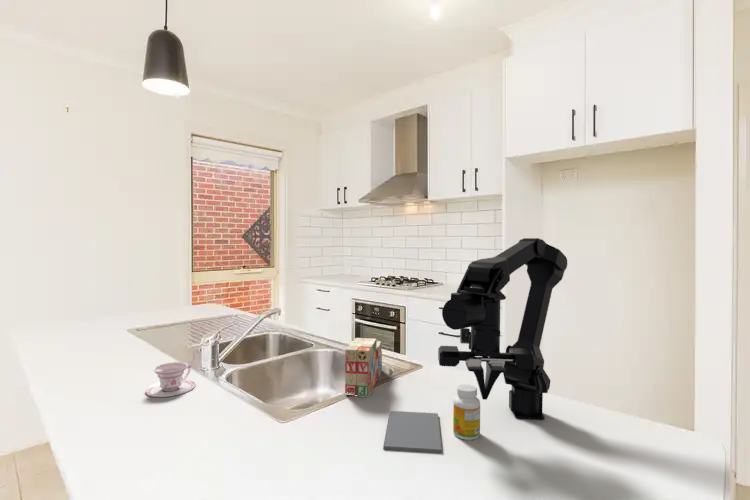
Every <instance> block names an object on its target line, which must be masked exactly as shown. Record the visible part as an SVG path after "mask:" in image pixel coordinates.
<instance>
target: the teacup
mask: <svg viewBox="0 0 750 500" xmlns="http://www.w3.org/2000/svg"><path fill="white" fill-rule="evenodd" d="M191 367H192V366H191V365H189V363H187V362H185V361H181V362H180V361H178V362H177V361H176V362H168V363H163V364H160V365H155V366H154V367H153V368H152V371H154V373H155V374H156V375H157V377H158V378H159V382H157V383H155V384H152V385H150V386H149V387H147V388H146V389H145V390H144V392H145V395H147V396H148V397H153V398H166V397H167V398H168V397H173V396H179V395H182V394H186V393H189V392H190V391H192V390H194V389H195V387H196V386H197V384H196V382H195V381H193V380H191V379H190V380H189V379H186V378H187V377H188V376H189V374H190V373H191ZM186 370H187V373H186V374H185V376H184V377H183V375H184V373H185V372H184V371H186ZM179 387H180V388H179ZM154 388H156V389H154ZM152 389H154V390H155V391H154V392H153V391H151V390H152ZM157 389H158V390H157ZM162 389H163V391H162ZM151 392H153V394H152V393H151Z"/></svg>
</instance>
